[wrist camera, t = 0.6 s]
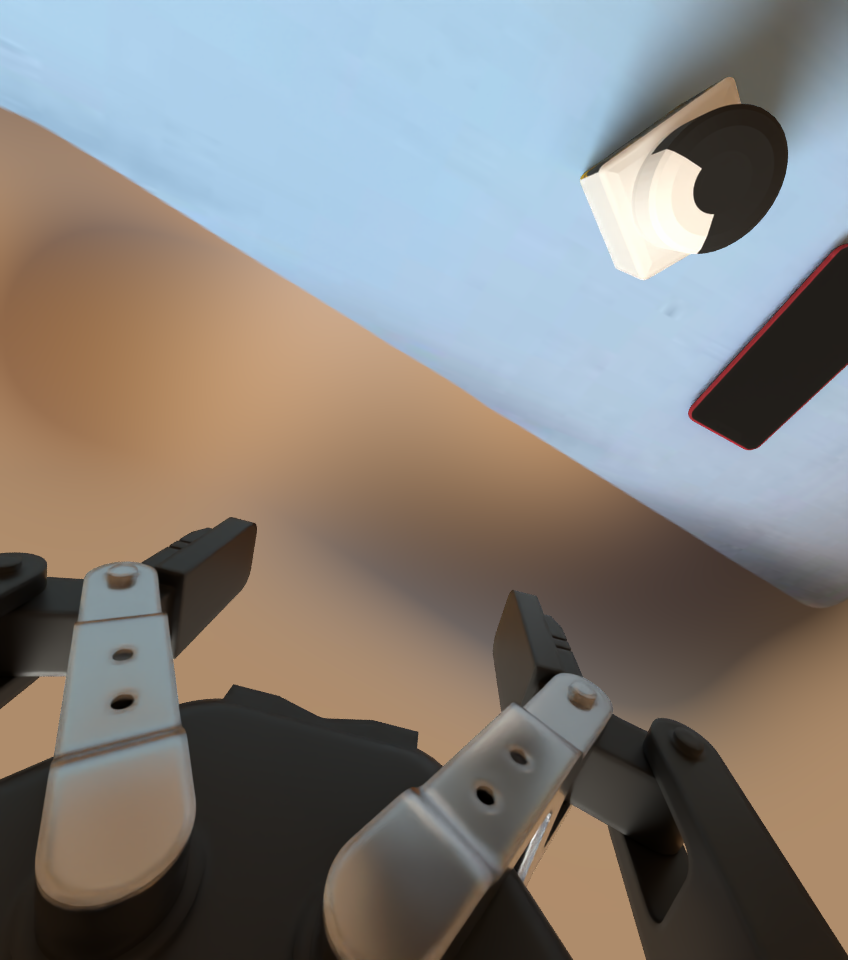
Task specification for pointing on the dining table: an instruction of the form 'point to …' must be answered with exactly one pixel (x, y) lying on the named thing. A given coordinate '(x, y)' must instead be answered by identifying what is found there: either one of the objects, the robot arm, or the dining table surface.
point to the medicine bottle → (688, 181)
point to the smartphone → (782, 361)
